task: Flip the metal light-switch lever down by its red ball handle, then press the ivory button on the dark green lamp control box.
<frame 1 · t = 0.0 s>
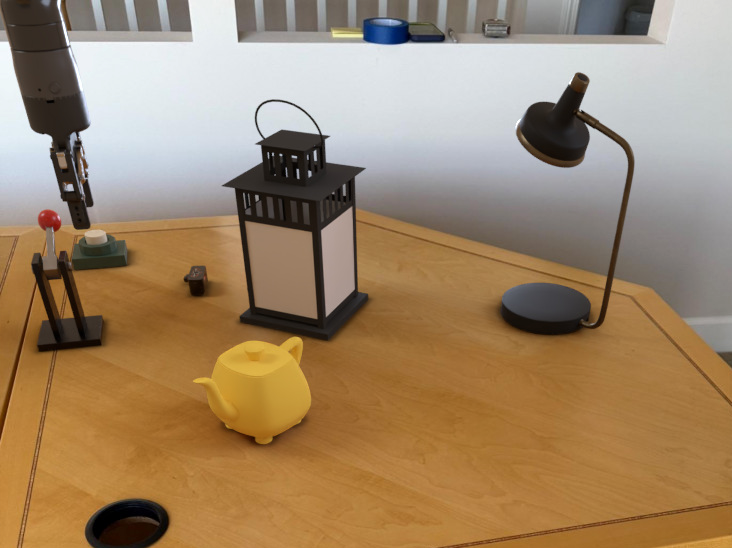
hand: (84, 217, 109), 24 cm above the table, tool pointing down, fingers open, 8 cm apart
switch lever: (50, 243, 126), point 14 cm above the table, hinge at 25.0°
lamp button: (96, 237, 153), point 5 cm above the table, slide at 0.2 cm
switch bracket: (72, 335, 132), on the table
lamp box: (101, 260, 156), on the table
teapot: (260, 425, 113), on the table
lamp: (551, 317, 140), on the table
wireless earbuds: (196, 288, 147), on the table
lantern: (306, 311, 141), on the table
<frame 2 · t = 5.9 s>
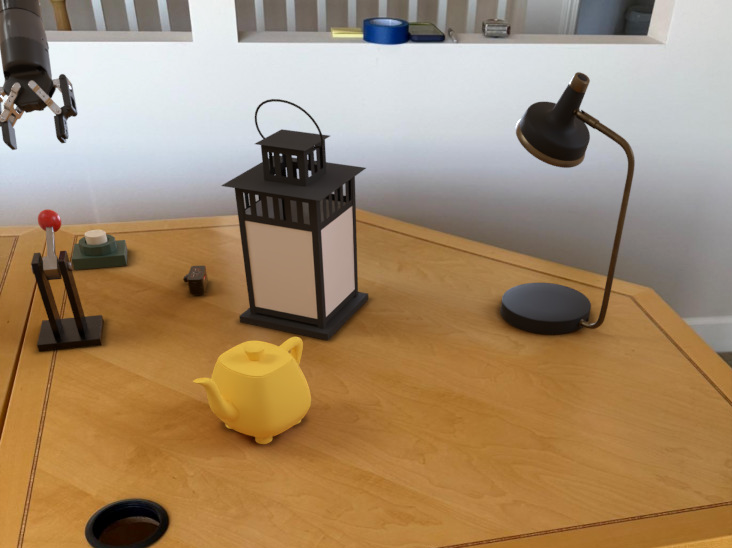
hand: (36, 144, 131), 25 cm above the table, tool tilted 40°, fingers open, 8 cm apart
nothing on the table moved.
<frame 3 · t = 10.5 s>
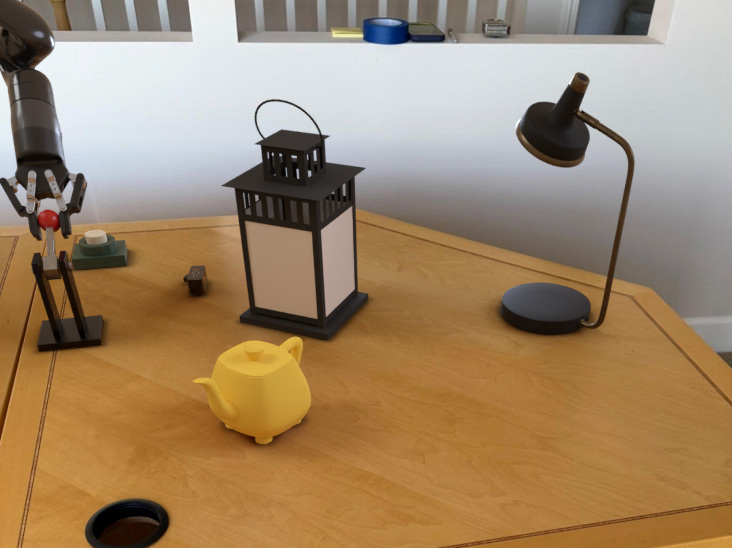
hand: (52, 237, 128), 14 cm above the table, tool tilted 45°, fingers closed on switch lever, 3 cm apart
switch lever: (50, 243, 126), point 14 cm above the table, hinge at 25.0°, touching gripper
everything else where it was.
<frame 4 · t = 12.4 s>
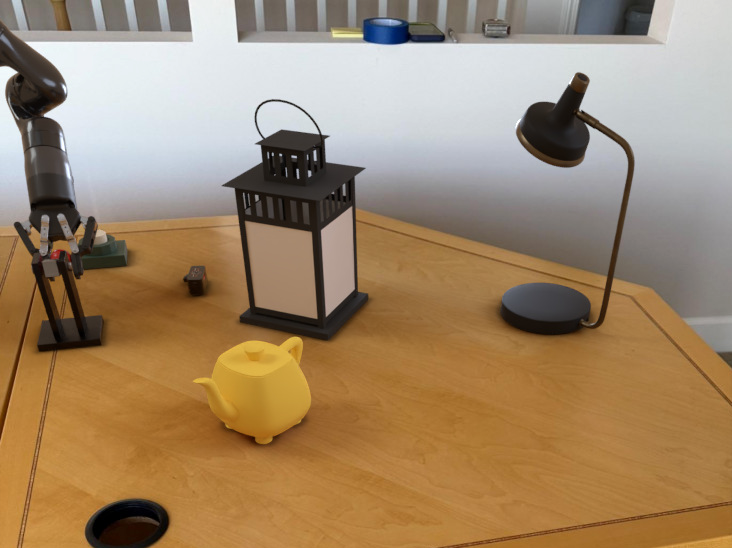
hand: (64, 278, 133), 7 cm above the table, tool tilted 45°, fingers closed on switch lever, 3 cm apart
switch lever: (57, 263, 129), point 11 cm above the table, hinge at -15.4°, touching gripper
everything else where it was.
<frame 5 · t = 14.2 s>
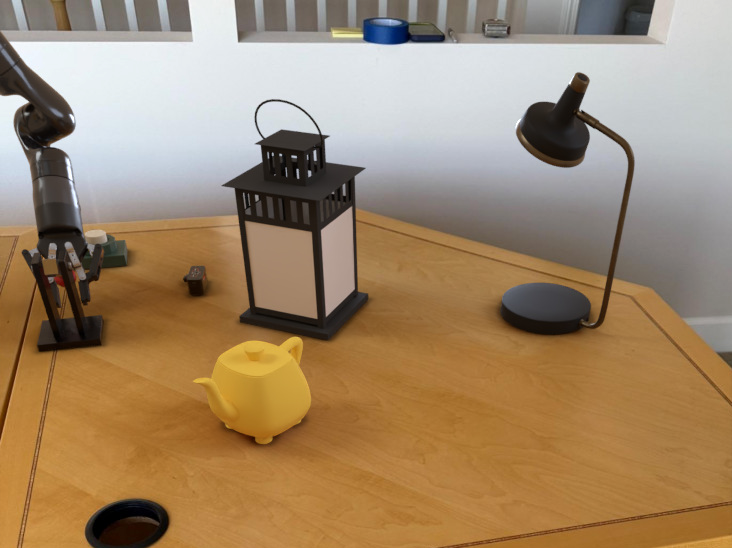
hand: (71, 304, 135), 3 cm above the table, tool tilted 45°, fingers open, 4 cm apart
switch lever: (59, 272, 129), point 9 cm above the table, hinge at -31.0°
everything else where it was.
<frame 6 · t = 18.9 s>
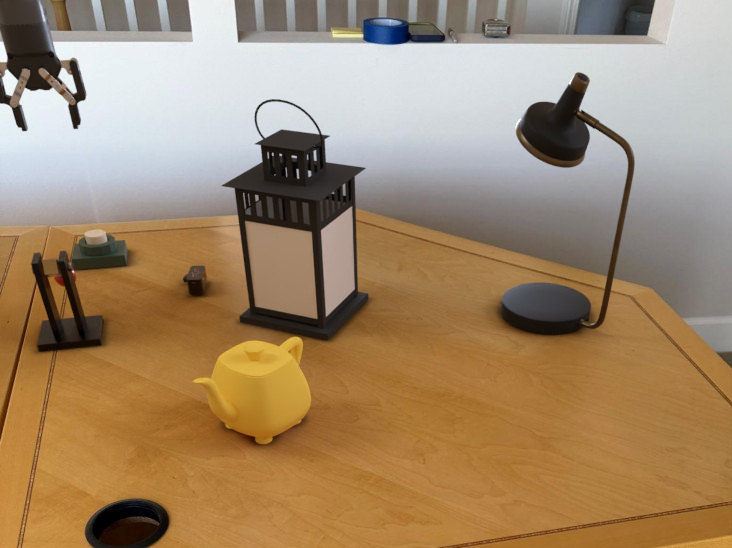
hand: (51, 129, 134), 26 cm above the table, tool pointing down, fingers open, 8 cm apart
switch lever: (59, 272, 129), point 9 cm above the table, hinge at -30.5°
everything else where it was.
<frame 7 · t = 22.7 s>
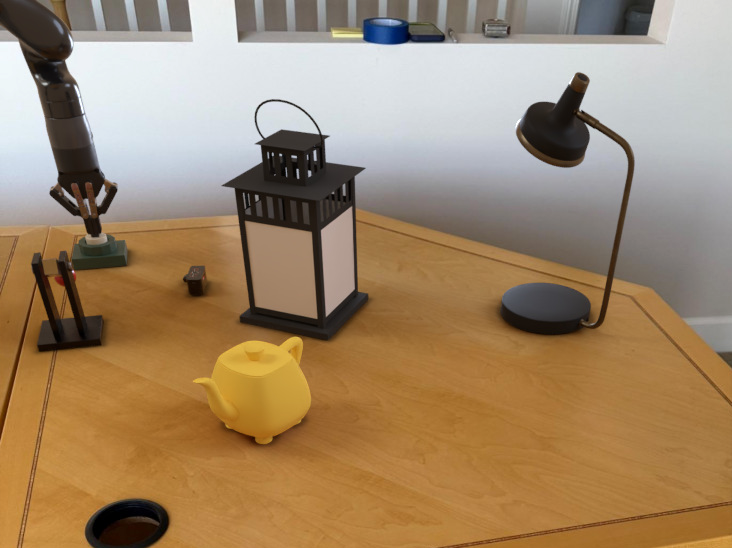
hand: (95, 235, 153), 5 cm above the table, tool pointing down, fingers closed
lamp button: (96, 240, 153), point 4 cm above the table, slide at -0.3 cm, touching gripper
everything else where it was.
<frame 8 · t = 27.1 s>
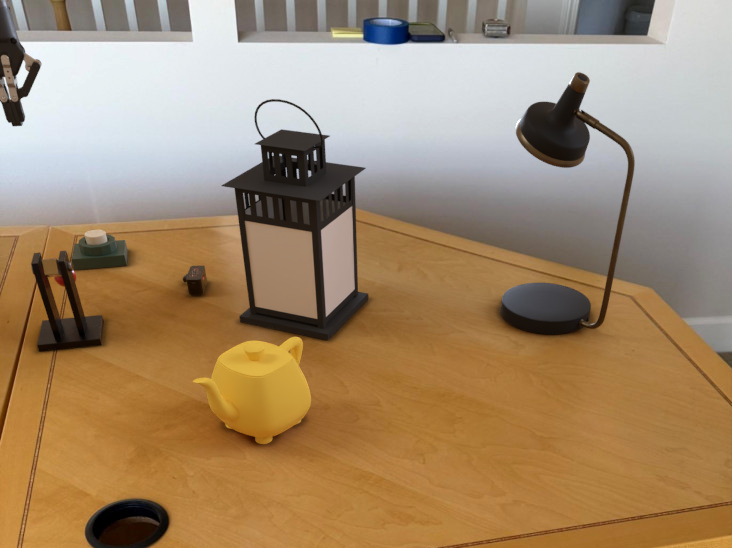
hand: (18, 124, 132), 27 cm above the table, tool pointing down, fingers closed
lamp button: (96, 237, 153), point 5 cm above the table, slide at 0.2 cm
everything else where it was.
at the end: switch lever at -30° (first picture: +25°); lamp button pushed in 1.0 cm at the most during the clip, back to 0.2 cm at the end; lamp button slide at 0.2 cm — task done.
